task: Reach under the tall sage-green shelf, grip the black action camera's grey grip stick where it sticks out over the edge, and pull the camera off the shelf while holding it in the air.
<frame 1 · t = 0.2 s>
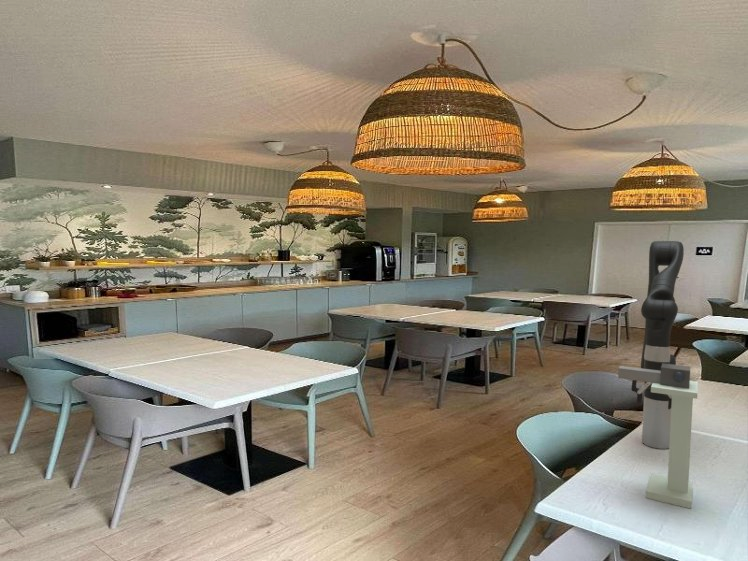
hand: (654, 406, 173), 17 cm above the table, tool pointing down, fingers open, 8 cm apart
camera shelf: (669, 492, 149), on the table
action camera: (674, 384, 146), point 32 cm above the table, touching camera shelf
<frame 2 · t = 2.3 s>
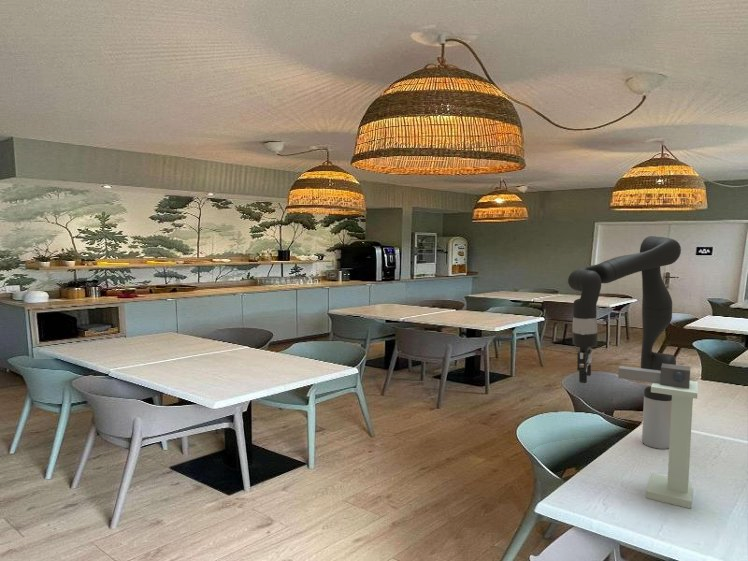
hand: (585, 378, 170), 27 cm above the table, tool pointing down, fingers open, 8 cm apart
nothing on the table moved.
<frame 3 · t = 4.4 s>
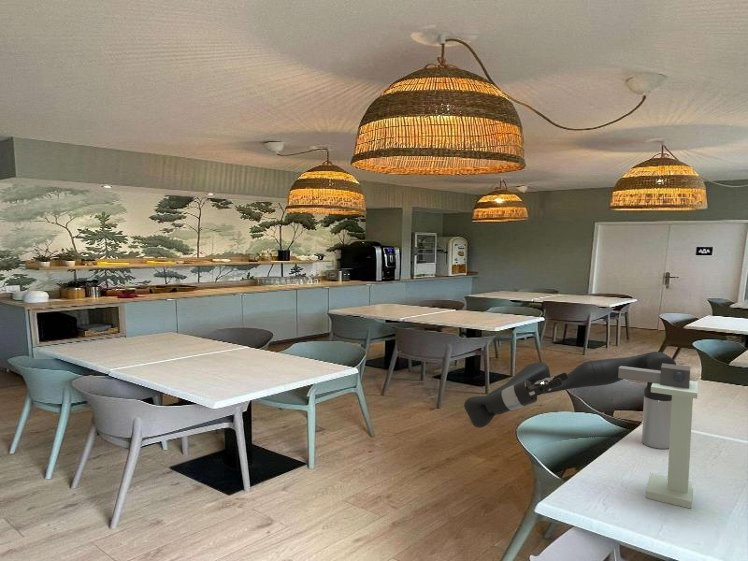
hand: (564, 378, 163), 29 cm above the table, tool pointing upward, fingers open, 8 cm apart
nothing on the table moved.
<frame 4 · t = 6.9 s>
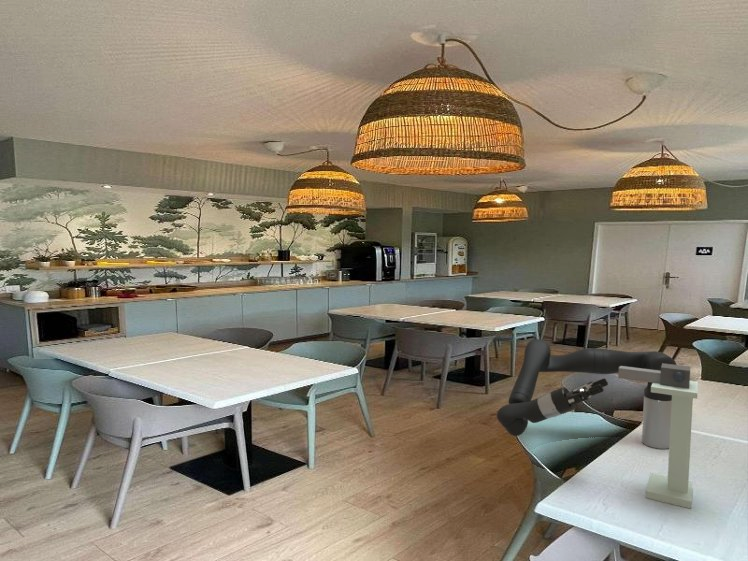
hand: (604, 384, 156), 29 cm above the table, tool pointing upward, fingers open, 8 cm apart
nothing on the table moved.
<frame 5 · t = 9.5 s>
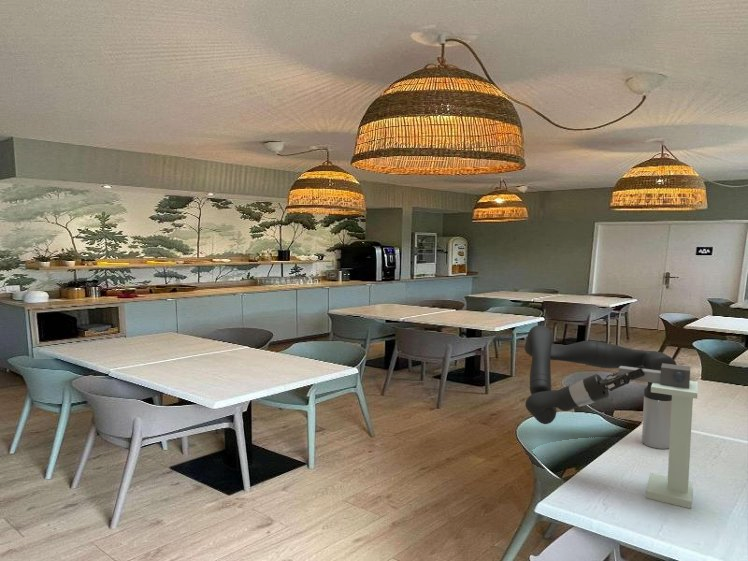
hand: (643, 370, 150), 35 cm above the table, tool pointing upward, fingers closed on action camera, 3 cm apart
action camera: (674, 384, 146), point 32 cm above the table, touching camera shelf, gripper
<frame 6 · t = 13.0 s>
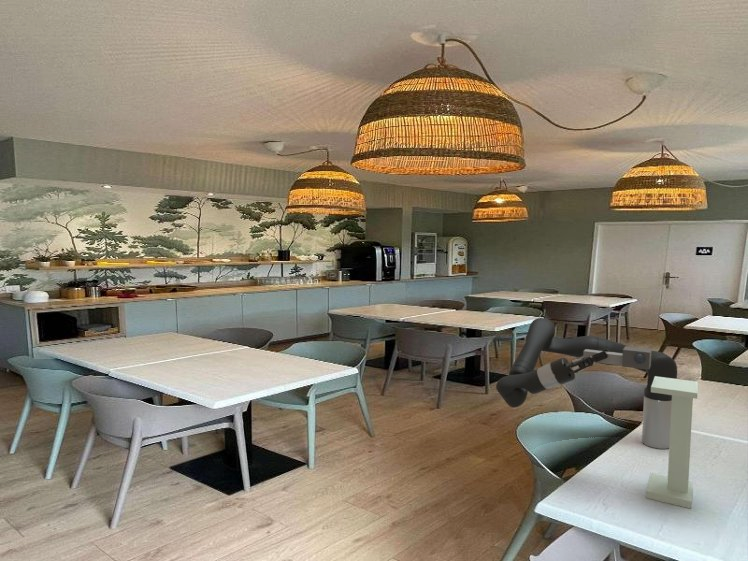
hand: (607, 352, 155), 39 cm above the table, tool pointing upward, fingers closed on action camera, 3 cm apart
action camera: (636, 366, 151), point 36 cm above the table, touching gripper
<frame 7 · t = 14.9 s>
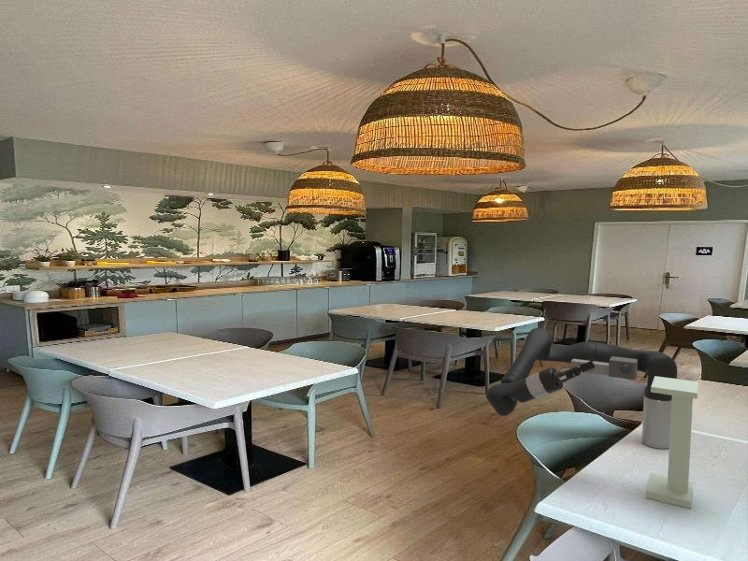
hand: (594, 362, 158), 35 cm above the table, tool pointing upward, fingers closed on action camera, 3 cm apart
action camera: (622, 376, 154), point 32 cm above the table, touching gripper
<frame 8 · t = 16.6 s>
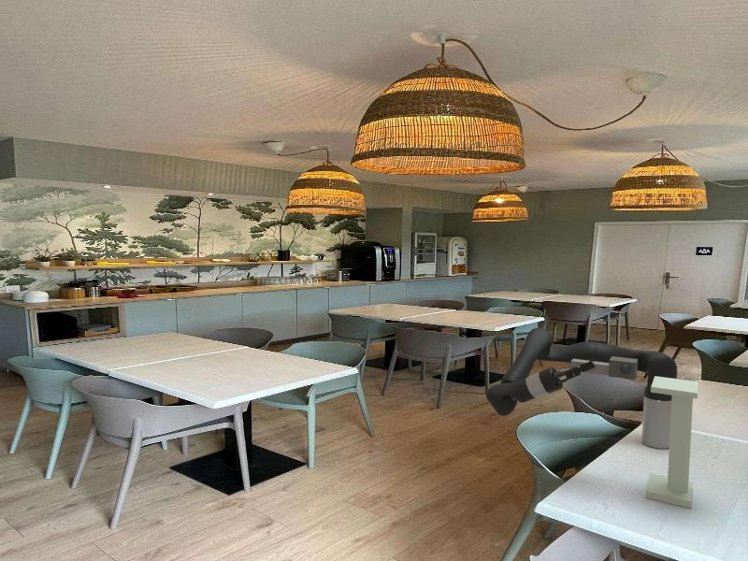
hand: (594, 362, 158), 35 cm above the table, tool pointing upward, fingers closed on action camera, 3 cm apart
action camera: (622, 376, 154), point 32 cm above the table, touching gripper
at the end: the gripper is holding action camera; action camera inside the target area on the camera shelf (2.5 cm from its centre), point 32.4 cm above the camera shelf's base; action camera touching gripper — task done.
